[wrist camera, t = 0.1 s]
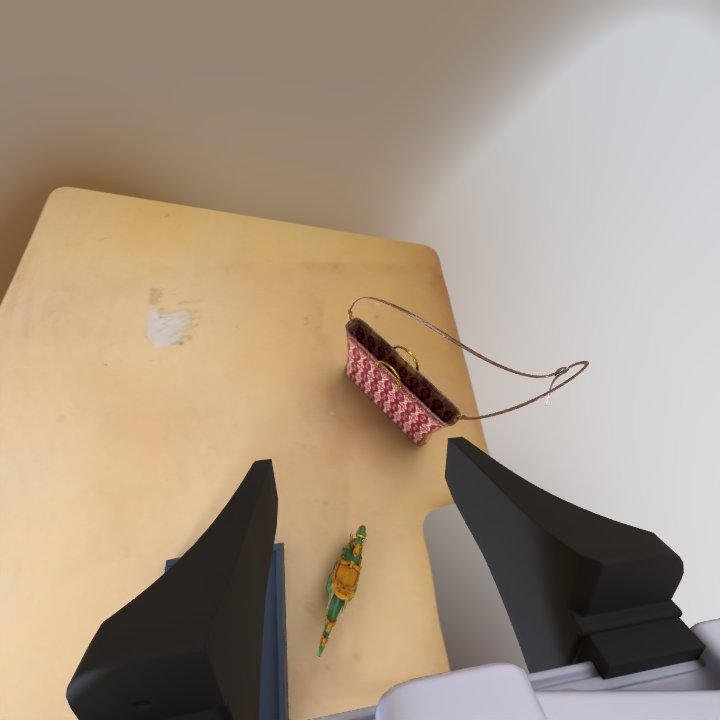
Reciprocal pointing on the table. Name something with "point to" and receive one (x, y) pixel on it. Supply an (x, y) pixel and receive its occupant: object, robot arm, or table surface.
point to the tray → (272, 642)
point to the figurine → (343, 582)
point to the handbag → (409, 381)
